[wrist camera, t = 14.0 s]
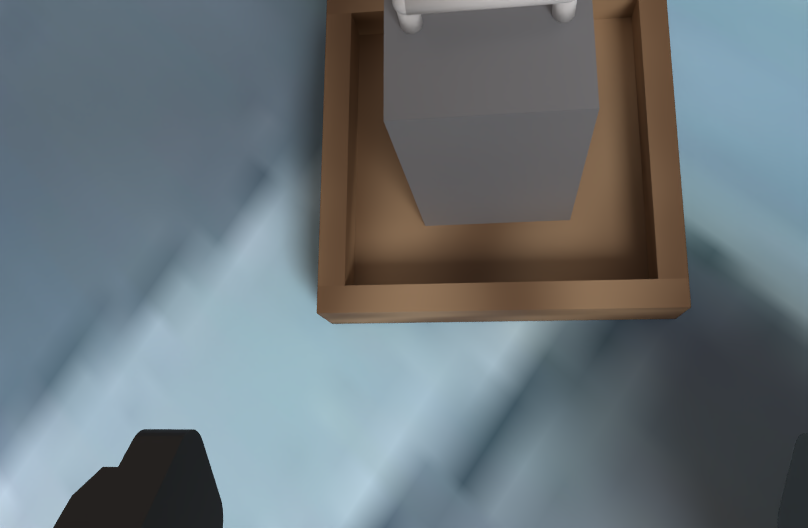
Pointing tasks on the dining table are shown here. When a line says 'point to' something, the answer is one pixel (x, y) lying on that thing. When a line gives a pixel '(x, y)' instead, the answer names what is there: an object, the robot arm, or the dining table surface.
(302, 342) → the dining table surface
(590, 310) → the tray
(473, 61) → the grey rectangular block
